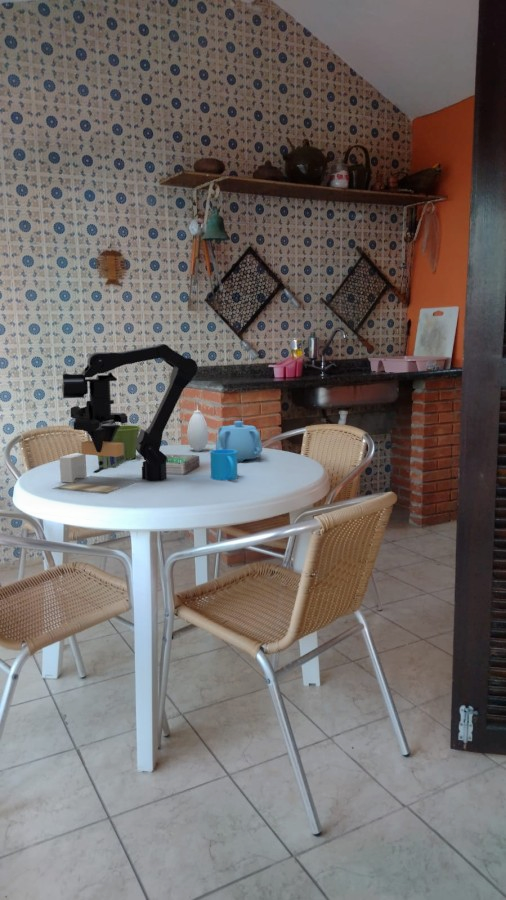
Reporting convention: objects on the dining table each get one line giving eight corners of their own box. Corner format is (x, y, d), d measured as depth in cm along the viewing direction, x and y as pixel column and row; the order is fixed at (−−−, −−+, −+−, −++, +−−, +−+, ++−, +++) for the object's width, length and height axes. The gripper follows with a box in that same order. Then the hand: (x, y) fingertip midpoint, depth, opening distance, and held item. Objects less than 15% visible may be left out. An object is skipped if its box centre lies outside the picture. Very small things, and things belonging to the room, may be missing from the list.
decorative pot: (213, 463, 223) (212, 424, 220) (218, 454, 238) (217, 418, 236) (260, 463, 222) (260, 424, 219) (262, 454, 237) (262, 418, 235)
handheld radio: (127, 461, 228) (100, 476, 203) (118, 461, 228) (90, 476, 204) (125, 443, 227) (98, 455, 202) (116, 443, 227) (88, 456, 203)
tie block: (86, 477, 195) (85, 453, 194) (72, 482, 189) (70, 458, 187) (75, 476, 197) (74, 453, 195) (60, 481, 190) (59, 457, 189)
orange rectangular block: (123, 454, 187) (123, 442, 186) (116, 456, 183) (116, 444, 183) (89, 452, 191) (88, 440, 190) (81, 454, 188) (81, 442, 187)
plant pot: (120, 454, 240) (119, 424, 238) (147, 456, 236) (146, 425, 234) (101, 460, 229) (99, 428, 227) (129, 462, 225) (128, 430, 223)
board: (141, 483, 192) (141, 480, 192) (106, 497, 176) (105, 493, 176) (90, 479, 199) (90, 475, 199) (52, 492, 183) (52, 488, 182)
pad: (119, 488, 182) (119, 487, 182) (106, 493, 176) (106, 492, 176) (72, 484, 188) (72, 482, 188) (58, 488, 182) (58, 487, 182)
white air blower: (200, 453, 241) (199, 405, 238) (183, 451, 245) (182, 404, 242) (212, 450, 247) (211, 403, 244) (196, 448, 252) (195, 402, 248)
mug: (207, 476, 202) (206, 450, 201) (231, 473, 205) (231, 448, 204) (220, 484, 191) (220, 456, 190) (246, 481, 194) (245, 454, 193)
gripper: (96, 393, 196) (98, 444, 199) (55, 399, 179) (59, 454, 181) (127, 394, 192) (129, 446, 194) (89, 400, 175) (92, 457, 177)
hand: (102, 450), depth 187 cm, fingers closed on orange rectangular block, 3 cm apart
